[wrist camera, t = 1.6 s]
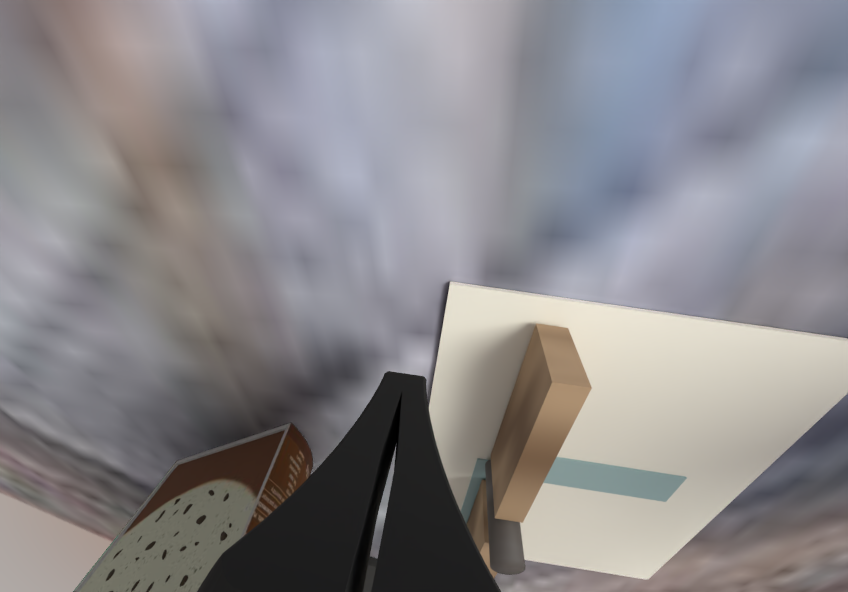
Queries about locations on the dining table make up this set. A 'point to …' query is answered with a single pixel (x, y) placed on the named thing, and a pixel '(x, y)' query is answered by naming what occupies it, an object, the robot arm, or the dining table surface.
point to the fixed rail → (481, 525)
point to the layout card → (629, 418)
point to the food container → (202, 513)
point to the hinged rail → (531, 438)
